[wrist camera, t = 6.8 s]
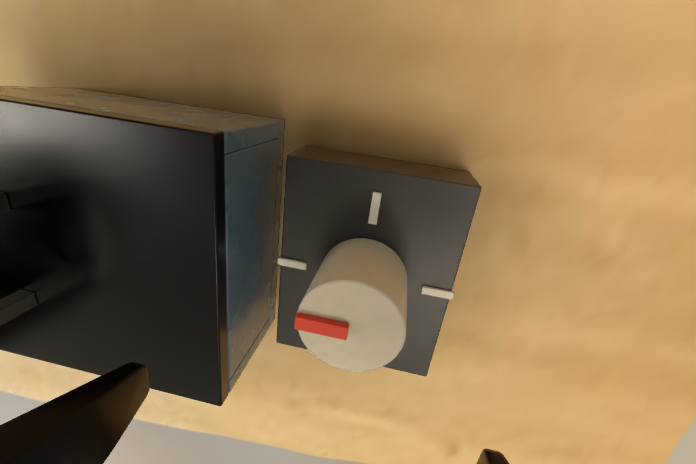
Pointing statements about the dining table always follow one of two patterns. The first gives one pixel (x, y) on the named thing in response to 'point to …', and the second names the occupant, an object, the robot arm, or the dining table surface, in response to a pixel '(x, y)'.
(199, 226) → the lid
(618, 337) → the dining table surface
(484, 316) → the dining table surface
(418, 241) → the control block
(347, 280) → the dial
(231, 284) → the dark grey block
